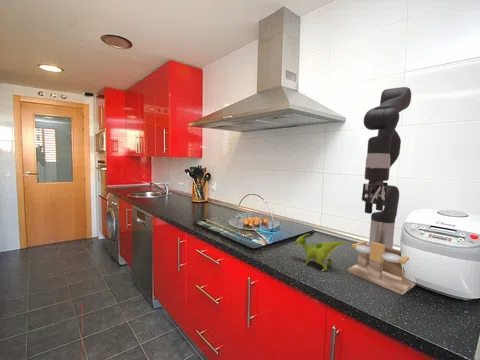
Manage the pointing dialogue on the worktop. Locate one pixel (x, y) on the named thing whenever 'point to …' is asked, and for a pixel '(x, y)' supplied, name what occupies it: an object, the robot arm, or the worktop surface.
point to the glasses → (379, 252)
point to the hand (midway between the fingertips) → (373, 211)
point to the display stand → (382, 272)
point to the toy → (319, 251)
